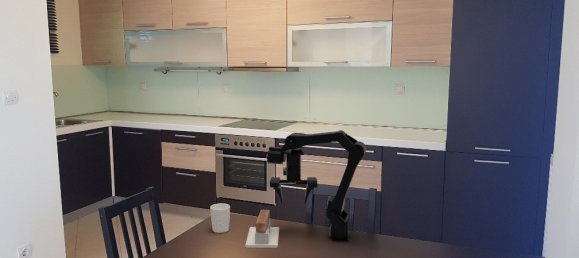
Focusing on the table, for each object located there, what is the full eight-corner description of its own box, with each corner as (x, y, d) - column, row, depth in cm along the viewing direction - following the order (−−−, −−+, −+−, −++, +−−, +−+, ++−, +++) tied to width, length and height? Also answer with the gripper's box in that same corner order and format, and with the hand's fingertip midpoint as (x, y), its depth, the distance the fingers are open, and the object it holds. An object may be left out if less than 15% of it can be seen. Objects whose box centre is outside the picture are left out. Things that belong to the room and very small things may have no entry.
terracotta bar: (269, 219, 190) (269, 209, 189) (265, 233, 175) (265, 223, 174) (261, 219, 190) (261, 209, 189) (255, 233, 175) (255, 223, 174)
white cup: (220, 235, 186) (220, 211, 185) (207, 230, 191) (206, 207, 189) (234, 229, 192) (233, 205, 191) (220, 224, 197) (220, 202, 196)
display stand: (279, 229, 192) (279, 217, 191) (277, 247, 174) (277, 234, 173) (250, 229, 192) (249, 217, 191) (245, 247, 174) (245, 234, 173)
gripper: (316, 160, 192) (316, 196, 194) (270, 160, 192) (271, 196, 194) (317, 167, 181) (317, 205, 183) (269, 166, 181) (269, 205, 183)
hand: (293, 203), depth 186 cm, fingers open, 9 cm apart
